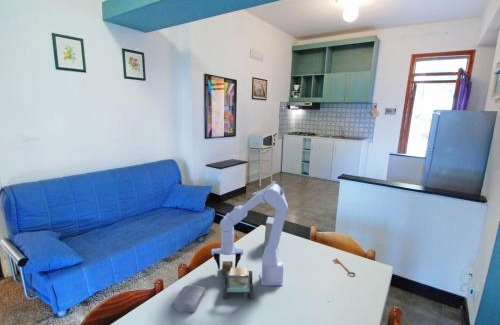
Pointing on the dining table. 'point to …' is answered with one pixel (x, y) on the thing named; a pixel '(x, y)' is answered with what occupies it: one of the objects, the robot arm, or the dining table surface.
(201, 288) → the stone block
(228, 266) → the walnut chock
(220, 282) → the dining table surface
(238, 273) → the dark framed glass box
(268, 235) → the skincare box
